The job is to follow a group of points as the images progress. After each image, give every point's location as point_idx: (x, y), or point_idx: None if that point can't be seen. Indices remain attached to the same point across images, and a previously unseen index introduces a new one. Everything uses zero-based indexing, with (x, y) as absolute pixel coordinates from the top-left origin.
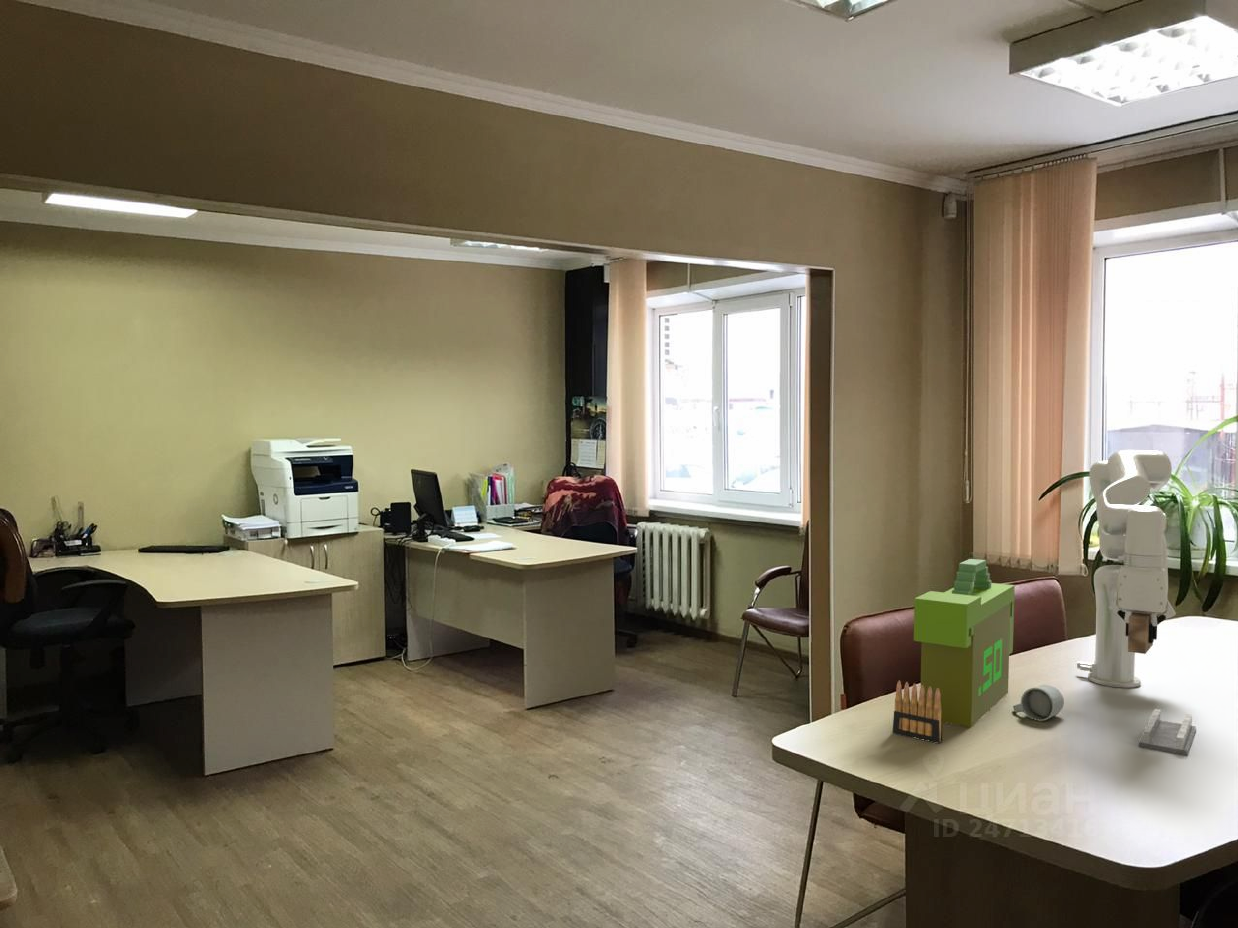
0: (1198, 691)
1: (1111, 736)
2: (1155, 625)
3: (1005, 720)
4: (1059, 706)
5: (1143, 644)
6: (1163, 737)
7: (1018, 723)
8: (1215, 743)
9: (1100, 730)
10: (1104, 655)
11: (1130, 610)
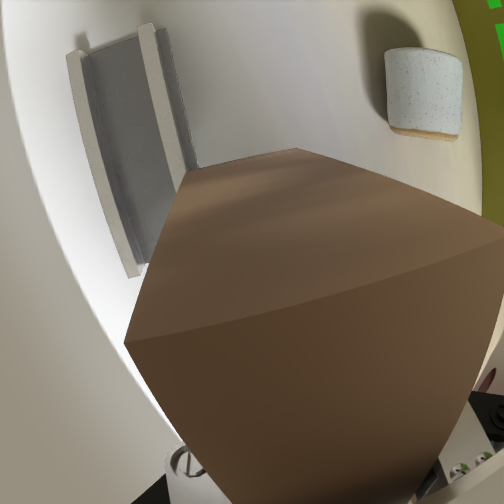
0: None
1: (241, 54)
2: (184, 450)
3: (432, 27)
4: (391, 89)
5: (196, 178)
6: (135, 111)
7: (412, 21)
8: (65, 205)
9: (279, 81)
10: None
11: (482, 466)
